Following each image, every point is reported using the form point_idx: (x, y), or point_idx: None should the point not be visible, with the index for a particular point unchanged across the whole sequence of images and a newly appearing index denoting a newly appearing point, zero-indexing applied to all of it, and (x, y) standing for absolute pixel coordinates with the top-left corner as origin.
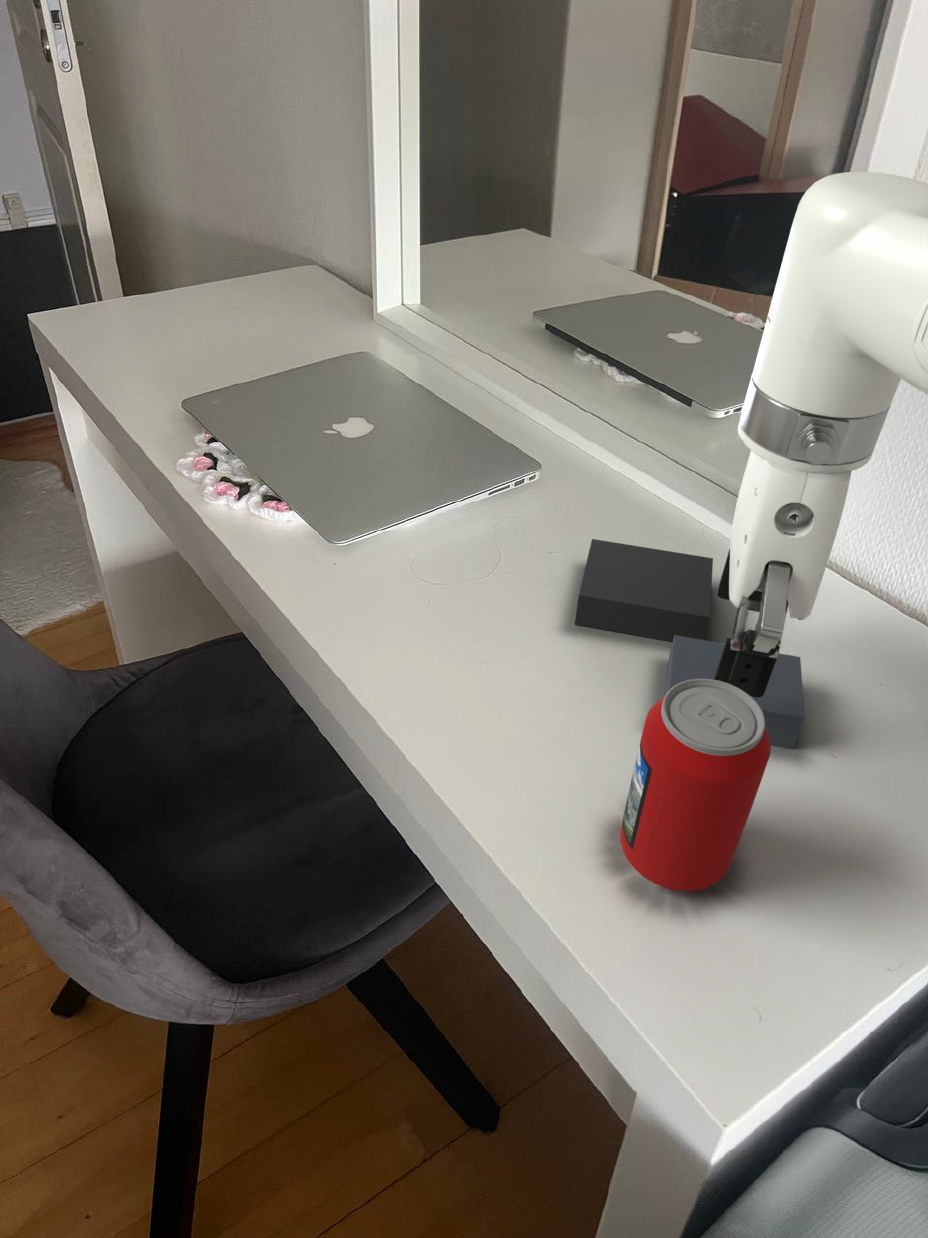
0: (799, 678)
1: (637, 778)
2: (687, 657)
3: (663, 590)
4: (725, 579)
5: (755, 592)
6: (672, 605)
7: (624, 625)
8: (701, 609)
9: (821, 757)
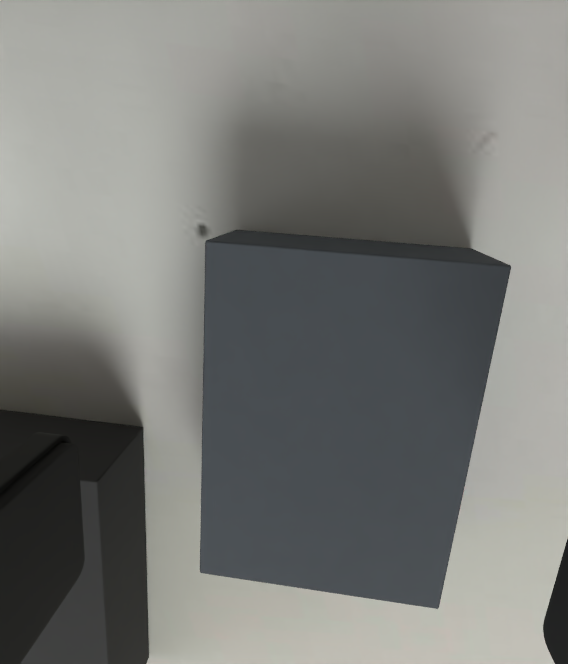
0: (316, 257)
1: None
2: (284, 552)
3: None
4: (32, 643)
5: (45, 501)
6: None
7: (137, 595)
8: None
9: (495, 173)
